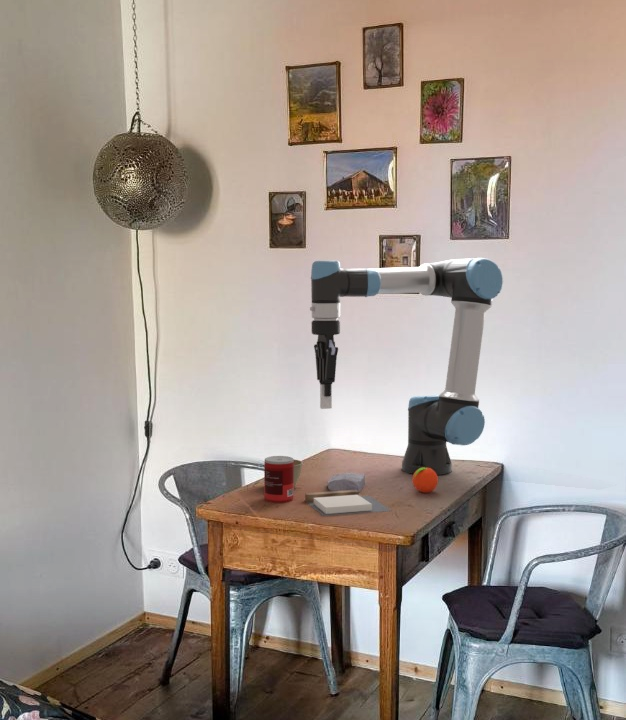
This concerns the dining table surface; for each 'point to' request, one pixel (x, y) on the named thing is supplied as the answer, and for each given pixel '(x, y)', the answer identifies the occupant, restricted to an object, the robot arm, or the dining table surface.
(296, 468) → the flower pot
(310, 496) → the strip
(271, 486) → the canned food
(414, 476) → the clementine
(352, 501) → the tile
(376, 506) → the mat
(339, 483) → the stone block
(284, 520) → the dining table surface
